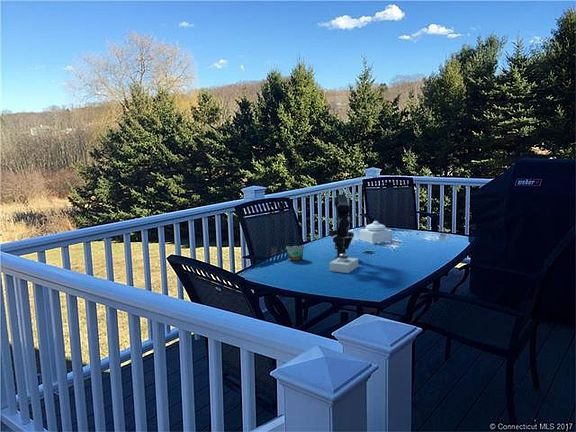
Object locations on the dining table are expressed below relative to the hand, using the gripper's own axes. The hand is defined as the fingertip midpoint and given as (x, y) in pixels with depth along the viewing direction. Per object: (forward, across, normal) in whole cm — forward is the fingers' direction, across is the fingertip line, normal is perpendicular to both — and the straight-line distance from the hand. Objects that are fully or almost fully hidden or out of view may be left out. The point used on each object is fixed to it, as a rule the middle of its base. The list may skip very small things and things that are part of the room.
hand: (343, 250), depth 283 cm
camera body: (+11, 0, 0) cm, 11 cm away
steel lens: (+9, 0, 0) cm, 9 cm away
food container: (+11, -6, -36) cm, 38 cm away
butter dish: (+11, -82, -9) cm, 84 cm away
